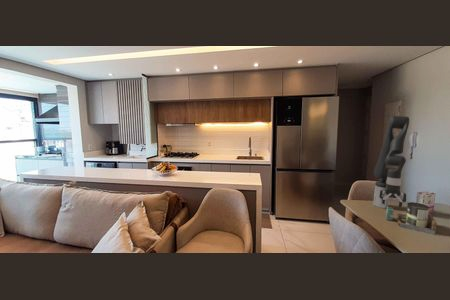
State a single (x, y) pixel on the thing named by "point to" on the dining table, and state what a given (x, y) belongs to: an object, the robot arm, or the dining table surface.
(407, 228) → the track
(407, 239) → the dining table surface
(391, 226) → the dining table surface
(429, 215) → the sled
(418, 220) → the coffee can
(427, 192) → the candy bar box
